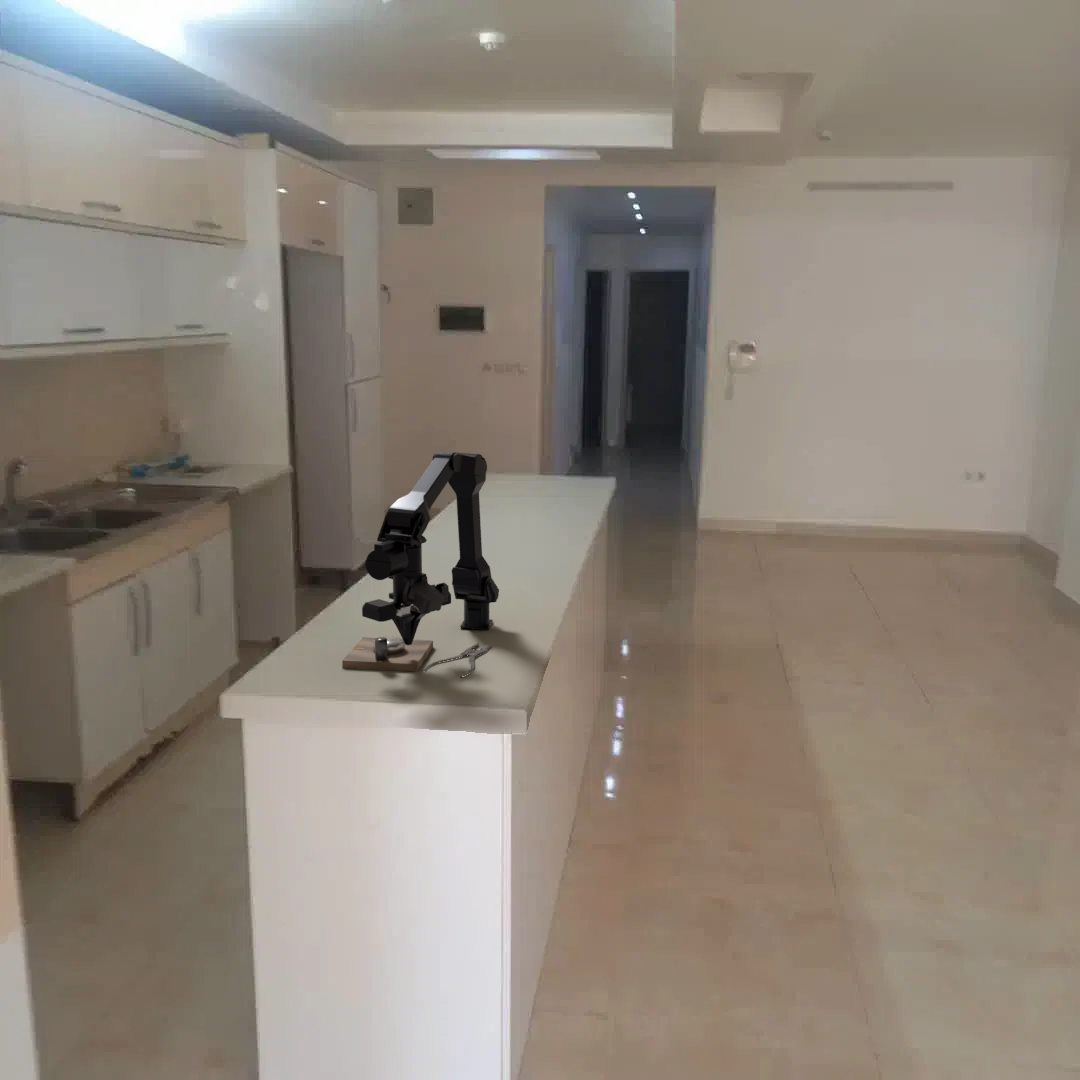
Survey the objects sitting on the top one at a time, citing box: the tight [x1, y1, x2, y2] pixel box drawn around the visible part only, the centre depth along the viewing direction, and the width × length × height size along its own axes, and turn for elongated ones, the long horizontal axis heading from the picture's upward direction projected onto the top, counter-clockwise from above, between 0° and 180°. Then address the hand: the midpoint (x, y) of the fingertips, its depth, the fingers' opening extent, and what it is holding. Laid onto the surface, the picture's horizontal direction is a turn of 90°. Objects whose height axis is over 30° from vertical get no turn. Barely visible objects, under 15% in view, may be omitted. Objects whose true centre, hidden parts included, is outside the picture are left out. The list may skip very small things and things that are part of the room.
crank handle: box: [373, 635, 405, 660], centre depth 204 cm, size 10×6×4 cm, turn 174°
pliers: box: [422, 642, 491, 678], centre depth 206 cm, size 10×1×20 cm
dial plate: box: [341, 636, 434, 672], centre depth 206 cm, size 15×15×2 cm
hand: (408, 644), depth 202 cm, fingers closed
